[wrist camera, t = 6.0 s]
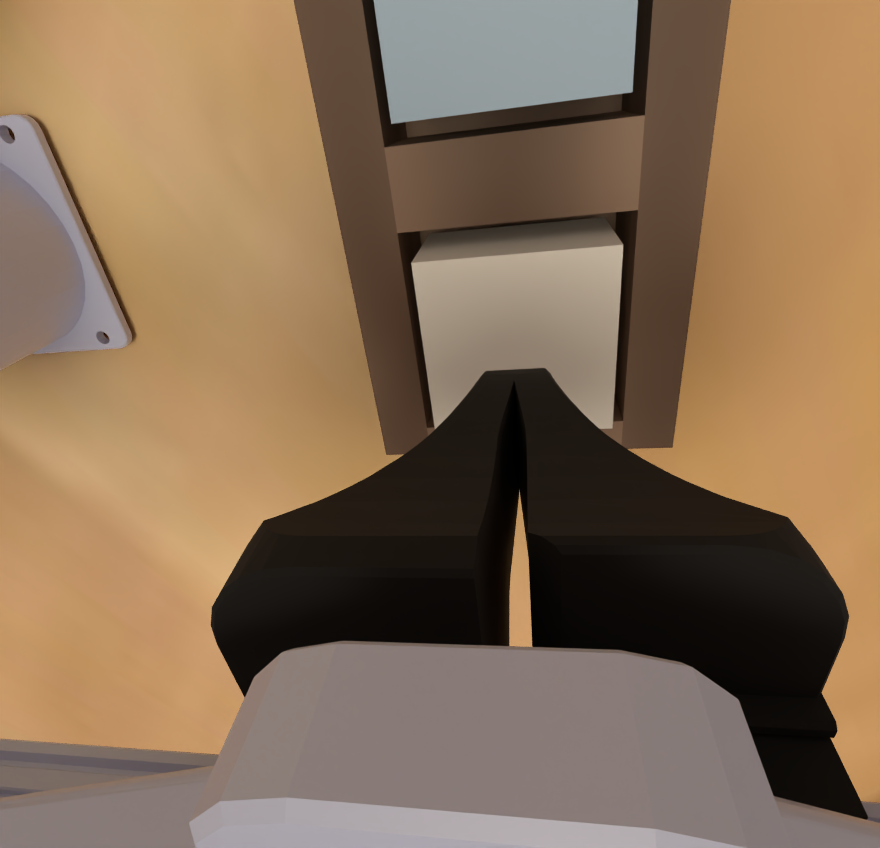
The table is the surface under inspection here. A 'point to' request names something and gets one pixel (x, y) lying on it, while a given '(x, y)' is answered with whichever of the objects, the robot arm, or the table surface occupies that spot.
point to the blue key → (502, 53)
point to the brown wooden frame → (524, 195)
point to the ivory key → (522, 309)
